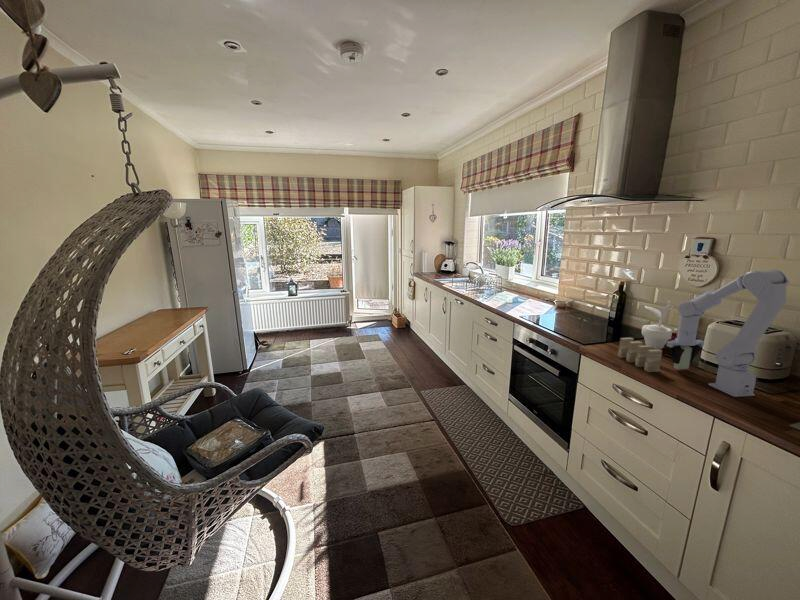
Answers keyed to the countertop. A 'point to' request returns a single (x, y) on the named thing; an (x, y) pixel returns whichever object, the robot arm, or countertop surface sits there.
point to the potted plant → (657, 329)
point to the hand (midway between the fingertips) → (682, 362)
